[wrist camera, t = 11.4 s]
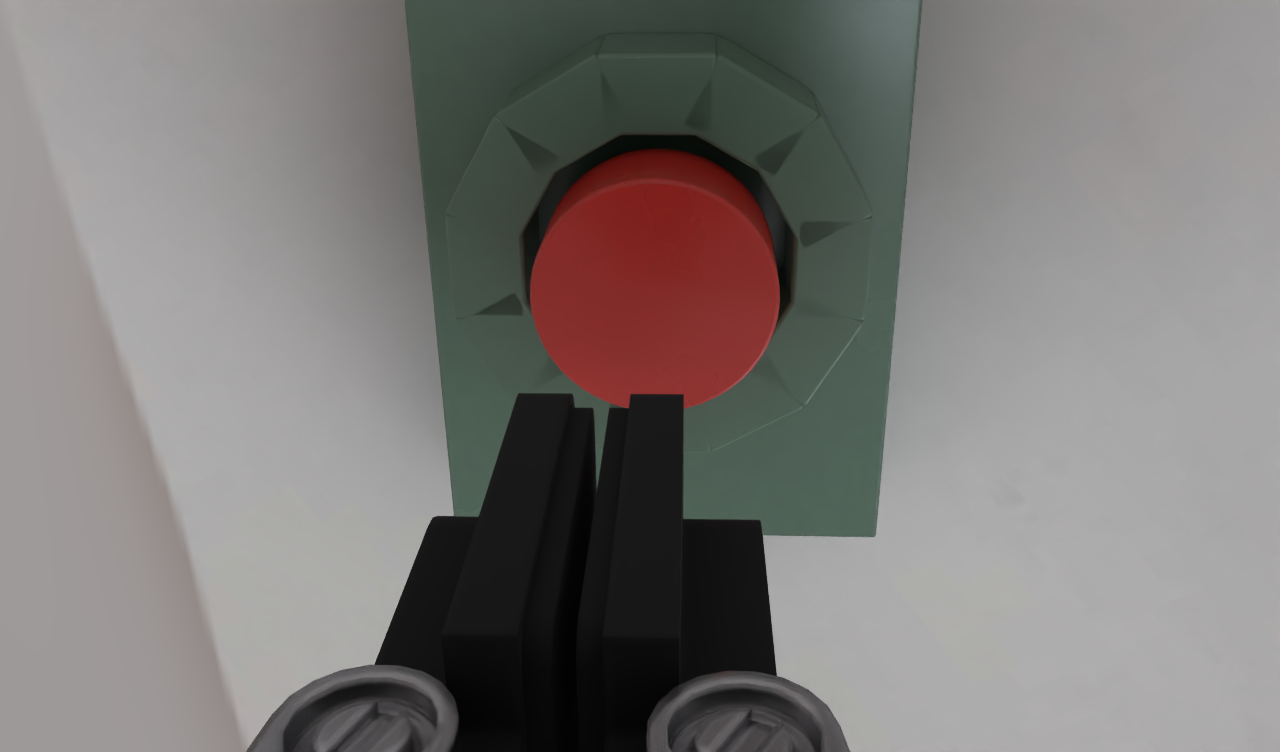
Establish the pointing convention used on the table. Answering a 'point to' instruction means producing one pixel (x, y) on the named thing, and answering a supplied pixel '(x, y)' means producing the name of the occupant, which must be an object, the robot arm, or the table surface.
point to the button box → (708, 127)
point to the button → (656, 279)
